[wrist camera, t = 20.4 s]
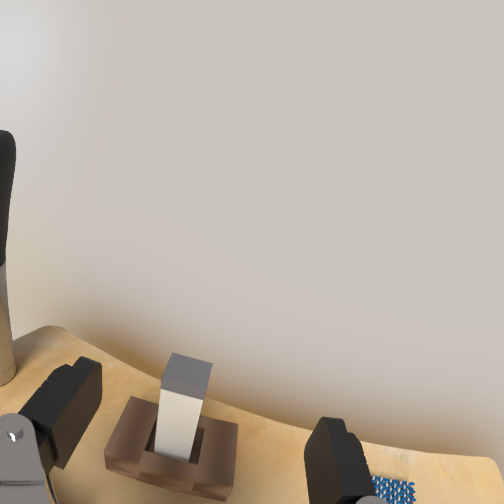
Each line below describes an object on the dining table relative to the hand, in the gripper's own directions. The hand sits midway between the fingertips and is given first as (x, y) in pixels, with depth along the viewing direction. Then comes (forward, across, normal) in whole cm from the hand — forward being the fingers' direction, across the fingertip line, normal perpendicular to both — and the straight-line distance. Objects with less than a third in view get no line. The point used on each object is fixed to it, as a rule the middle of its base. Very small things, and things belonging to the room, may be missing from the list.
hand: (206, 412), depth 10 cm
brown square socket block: (+16, +2, +26) cm, 31 cm away
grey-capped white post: (+16, +2, +25) cm, 30 cm away
